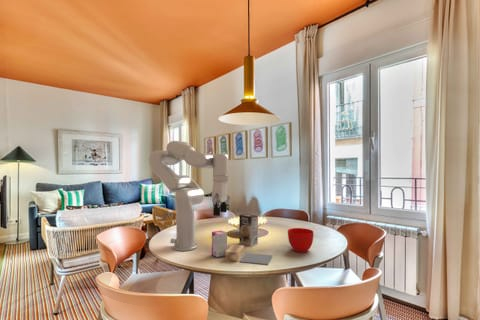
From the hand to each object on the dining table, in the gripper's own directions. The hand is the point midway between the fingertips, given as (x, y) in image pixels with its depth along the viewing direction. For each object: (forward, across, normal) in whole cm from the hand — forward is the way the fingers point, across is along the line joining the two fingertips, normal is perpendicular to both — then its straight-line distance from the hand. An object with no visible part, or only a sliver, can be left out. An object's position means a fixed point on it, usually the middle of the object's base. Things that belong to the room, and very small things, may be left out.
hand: (220, 213), depth 127 cm
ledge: (+20, 0, +8) cm, 22 cm away
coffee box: (+20, -22, +9) cm, 32 cm away
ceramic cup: (+20, -19, +37) cm, 46 cm away
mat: (+20, +1, +18) cm, 27 cm away
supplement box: (+20, 0, 0) cm, 20 cm away
